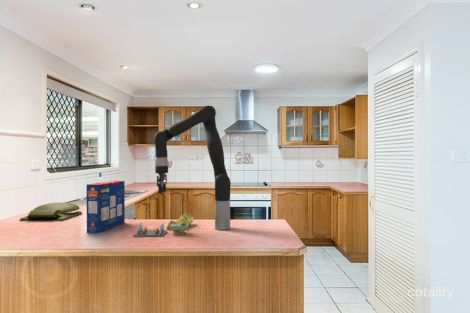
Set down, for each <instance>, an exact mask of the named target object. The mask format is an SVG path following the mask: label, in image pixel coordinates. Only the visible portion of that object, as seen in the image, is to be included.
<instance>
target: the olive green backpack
mask: <svg viewBox="0 0 470 313" xmlns="http://www.w3.org/2000/svg"><path fill="white" fill-rule="evenodd" d="M80 209H81V208H80V206H79V205H78V204H75V203H70V202H51V203H45V204H42V205H38V206H37V207H34V209H32V210H30V212H29V213H28V214H27V215H26V216H23V217H21V218H20V219H19V221H21V222H26V221H29V220H33V219H37V218H41V219H43V218H44V219H45V218H57V220H56V221H58V222H65V221H66V220H70V219H72V218H74V217H77V216H80V215H82V214H83V211H80ZM65 213H69V214H65Z"/></svg>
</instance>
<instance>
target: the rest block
mask: <svg viewBox="0 0 470 313" xmlns="http://www.w3.org/2000/svg"><path fill="white" fill-rule="evenodd" d="M172 233H173V234H172V235H176V236H177V235H185V233H186V230H172Z"/></svg>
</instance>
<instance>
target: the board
mask: <svg viewBox="0 0 470 313" xmlns="http://www.w3.org/2000/svg"><path fill="white" fill-rule="evenodd" d="M189 228H190V225H189V224H186V223H182V224H171V225H170V226H169V229H168V230H171V231H173V230H185V231H187V230H188V229H189Z"/></svg>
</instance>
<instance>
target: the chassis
mask: <svg viewBox="0 0 470 313" xmlns="http://www.w3.org/2000/svg"><path fill="white" fill-rule="evenodd" d="M136 229H137V232H135V233H134V234H133V235H132V237H133V238H137V237H138V238H163V237H164V236H165V235H166V233H167V232H168V229H165V222H161V224H159V226H157V227H156V228H154V229H148V228H147V226H145V227H143V222H139V223H138V224H137V228H136Z"/></svg>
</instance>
